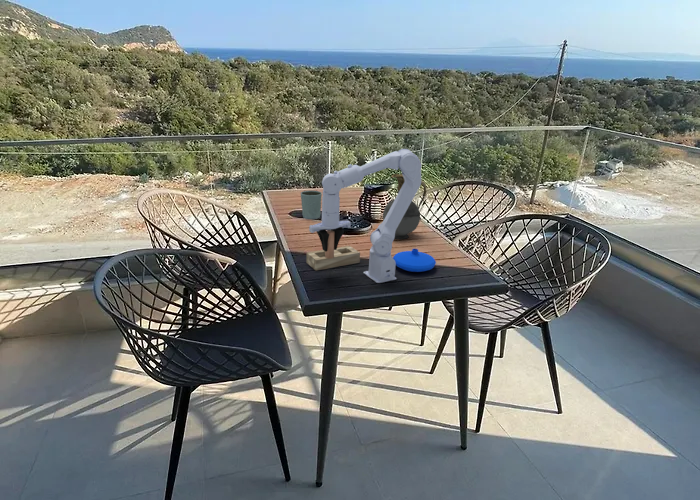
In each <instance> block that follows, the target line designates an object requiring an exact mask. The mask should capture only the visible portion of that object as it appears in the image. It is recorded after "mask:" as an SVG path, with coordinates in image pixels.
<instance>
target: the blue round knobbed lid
mask: <svg viewBox="0 0 700 500" xmlns="http://www.w3.org/2000/svg"><path fill="white" fill-rule="evenodd" d="M392 258H393V259H394V260H395V262H396V266H395V267H397V268H400V269H402V270H403V271H406V272H413V273H421V272H422V273H423V272H427V271H430V270H433V268H435V266H436V263H437V261H436V259H435V258H434V257H433V256H432V255H430V254H428V253H426V252H422V251H419V249H418V248H412V249H411V250H405V251H399V252H397V253H395V254H394V255H393V256H392Z"/></svg>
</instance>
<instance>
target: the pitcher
mask: <svg viewBox="0 0 700 500" xmlns="http://www.w3.org/2000/svg"><path fill="white" fill-rule="evenodd" d="M391 178H392V179H393V178H395V179H396V181H397V182H398V183H397V187H396V190H397V194H396V196H397V195H398V193H399V191H400V189H401V187H402V185H403V184H404V182H405V180H404V177H403V175H402V173H394V174H392V175H391ZM420 186H422V187H423V193H422V198H421V200H420V202H419V203H418V205H417V204H416V203H415V202H414V201H413V200H412V202H411V203H410V205H409V207H408V209H407V211H406V212H405V214H404V216H403V218H402V220H401V222H400V223H399V225H398V227H397V229H396V231H395V238H394V240H395V239H396V240H405V239H408V238H409V237H410V235H409V234H411V233H413V232H414V231H416V229H417V228H418V226H419V223H420V222H421V221H422V218H421V212H420V208H421V205H422V204H423V202H424V201H425V200H424V199H425V198H426V195H427V190H428V189H427V184H426V182H425V181H423V180H421V185H420ZM394 200H395V199H392V200H391V201H389V202H388V203H386V205H385V206H384V209H383V212H382V220H383V221H384V219H385V217H386V215H387V213H388V212H389V210H390V208H391V206H392V204H393V202H394ZM383 221H382V222H383Z"/></svg>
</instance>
